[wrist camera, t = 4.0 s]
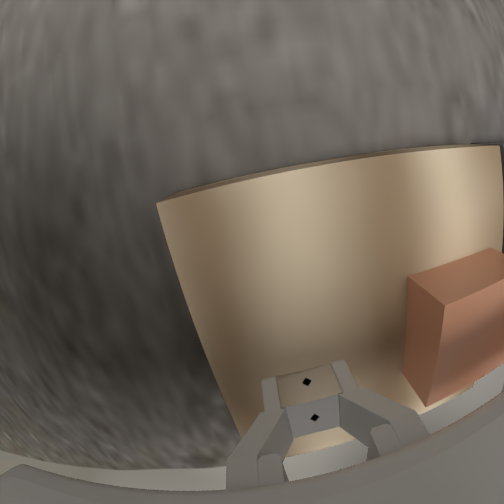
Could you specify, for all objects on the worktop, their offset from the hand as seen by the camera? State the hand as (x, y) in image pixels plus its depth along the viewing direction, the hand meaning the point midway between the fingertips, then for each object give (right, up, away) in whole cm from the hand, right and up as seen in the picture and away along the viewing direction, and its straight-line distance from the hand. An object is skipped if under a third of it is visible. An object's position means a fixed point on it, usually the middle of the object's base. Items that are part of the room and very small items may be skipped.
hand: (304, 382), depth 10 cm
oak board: (+3, +2, +4) cm, 6 cm away
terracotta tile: (+7, +2, +1) cm, 7 cm away
